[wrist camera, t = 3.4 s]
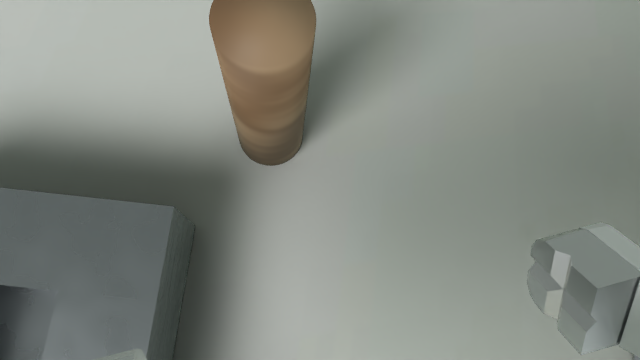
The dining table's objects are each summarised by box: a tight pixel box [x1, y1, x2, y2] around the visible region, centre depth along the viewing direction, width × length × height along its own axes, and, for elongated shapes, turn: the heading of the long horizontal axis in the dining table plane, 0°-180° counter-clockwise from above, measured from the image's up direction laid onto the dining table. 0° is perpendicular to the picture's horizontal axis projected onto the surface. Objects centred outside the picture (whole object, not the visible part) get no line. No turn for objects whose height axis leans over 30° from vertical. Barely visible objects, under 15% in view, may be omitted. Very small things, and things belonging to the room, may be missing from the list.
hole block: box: [0, 188, 195, 360], centre depth 18 cm, size 12×12×4 cm
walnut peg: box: [209, 0, 316, 166], centre depth 19 cm, size 3×3×10 cm
